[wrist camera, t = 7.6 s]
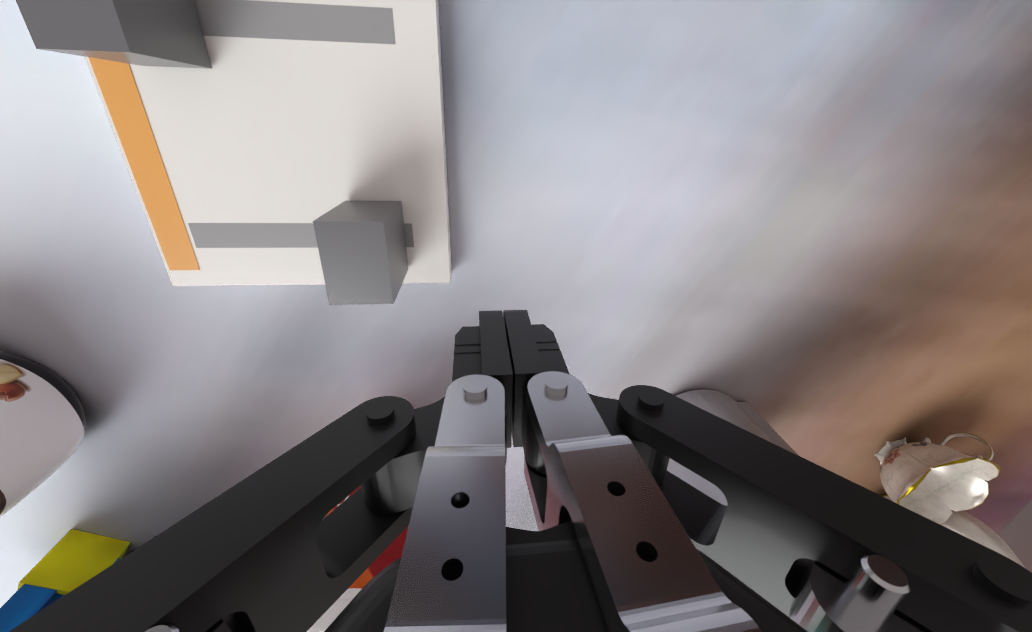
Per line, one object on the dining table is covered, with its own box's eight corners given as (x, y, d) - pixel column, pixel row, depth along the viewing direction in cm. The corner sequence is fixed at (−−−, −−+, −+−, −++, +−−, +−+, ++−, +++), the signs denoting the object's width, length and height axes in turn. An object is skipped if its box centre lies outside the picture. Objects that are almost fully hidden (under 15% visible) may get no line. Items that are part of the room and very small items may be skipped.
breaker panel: (436, -38, 19) (432, -54, 18) (451, 271, 26) (450, 283, 25) (75, -62, 18) (29, -82, 16) (194, 274, 25) (172, 286, 23)
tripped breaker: (401, 200, 22) (383, 221, 18) (408, 269, 24) (393, 303, 19) (345, 200, 22) (312, 221, 17) (356, 269, 23) (329, 304, 19)
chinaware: (873, 389, 37) (1116, 561, 22) (1010, 435, 40) (1315, 620, 25) (717, 570, 48) (808, 767, 33) (831, 598, 51) (966, 795, 35)
